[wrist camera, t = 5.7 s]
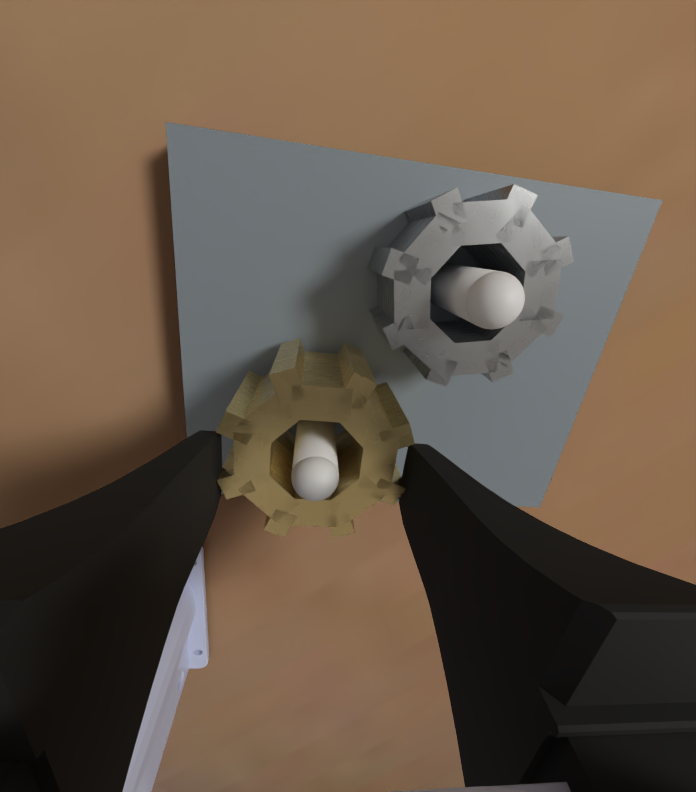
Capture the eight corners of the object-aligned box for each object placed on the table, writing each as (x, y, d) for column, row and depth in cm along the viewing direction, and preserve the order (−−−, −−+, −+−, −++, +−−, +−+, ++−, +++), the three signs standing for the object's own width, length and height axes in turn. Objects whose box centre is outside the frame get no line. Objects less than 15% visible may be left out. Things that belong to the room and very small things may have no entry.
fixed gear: (505, 350, 14) (552, 377, 11) (370, 361, 13) (383, 391, 11) (524, 195, 12) (588, 179, 9) (364, 204, 11) (380, 191, 9)
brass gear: (377, 477, 15) (395, 540, 11) (240, 470, 14) (218, 535, 11) (399, 346, 13) (428, 378, 9) (241, 332, 12) (213, 360, 9)
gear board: (522, 487, 18) (615, 596, 13) (200, 472, 16) (139, 592, 11) (626, 205, 13) (855, 175, 8) (183, 136, 12) (53, 30, 6)
